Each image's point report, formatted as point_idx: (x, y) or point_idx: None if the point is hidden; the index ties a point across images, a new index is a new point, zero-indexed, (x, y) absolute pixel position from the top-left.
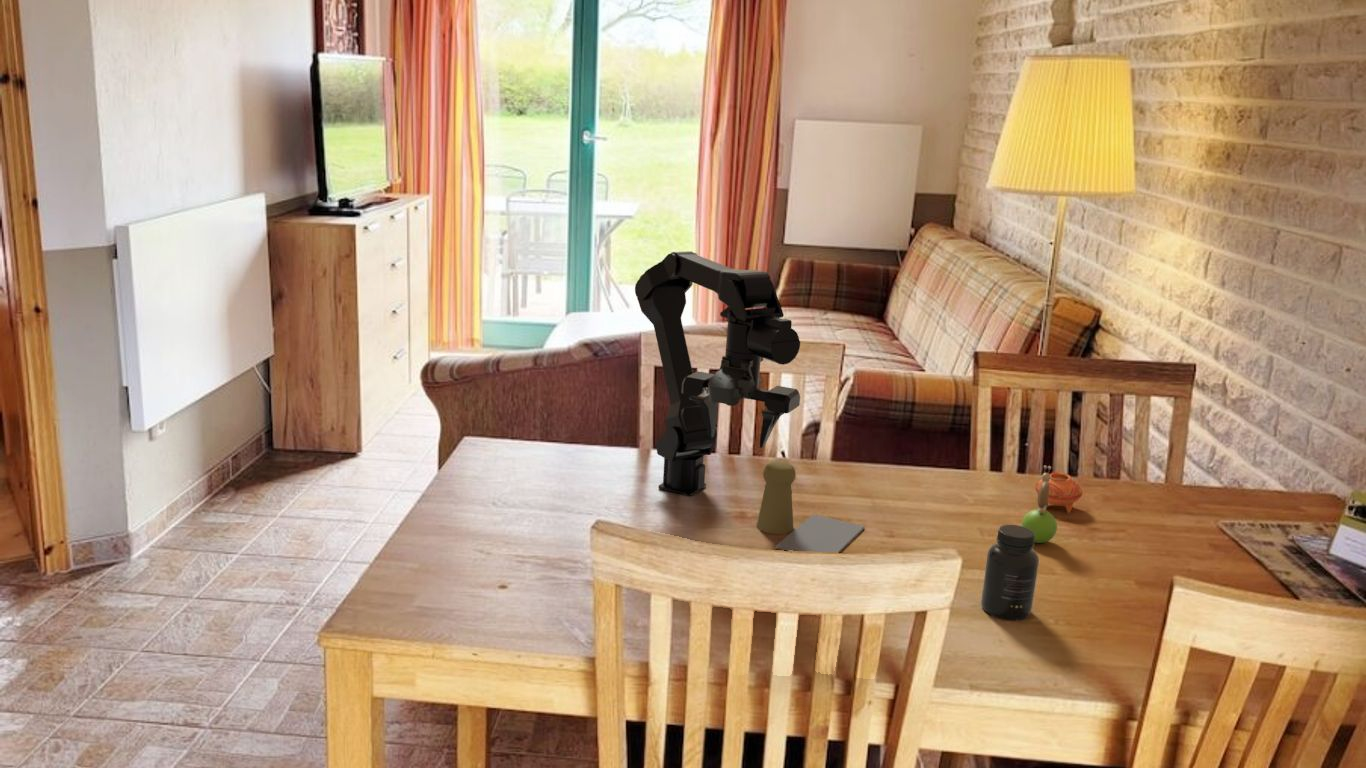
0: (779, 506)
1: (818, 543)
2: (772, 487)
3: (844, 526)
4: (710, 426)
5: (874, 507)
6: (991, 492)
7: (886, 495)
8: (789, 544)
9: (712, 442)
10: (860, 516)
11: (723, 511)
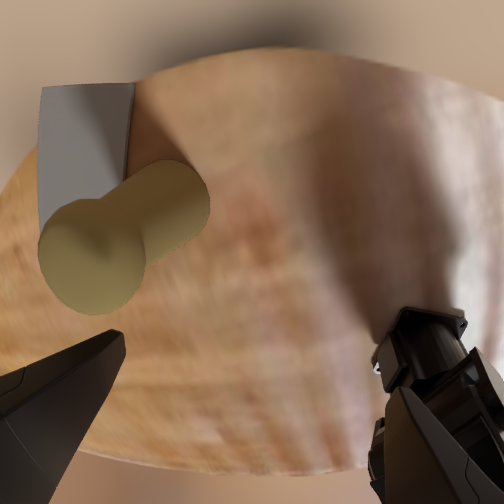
0: (119, 184)
1: (68, 147)
2: (113, 202)
3: None
4: (420, 427)
5: None
6: None
7: None
8: (109, 107)
9: (378, 436)
10: (70, 313)
11: (310, 250)
